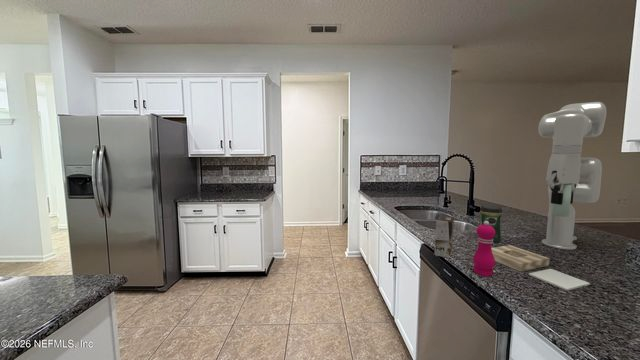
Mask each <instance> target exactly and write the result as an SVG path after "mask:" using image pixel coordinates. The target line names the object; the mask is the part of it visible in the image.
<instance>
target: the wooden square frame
mask: <svg viewBox="0 0 640 360" xmlns="http://www.w3.org/2000/svg"><path fill="white" fill-rule="evenodd" d="M491 250H492V253H493V256H494V258H495V263H496V262H497V263H499V264H501V265H504V266H505V267H506V266H507V267H509V268H511V269H513V270H516V271H519V272H524V271H529V270H533V269H534V270H535V269H538V268H543V267H548V266H550V257H547V256H543V255H542V254H541V255H540V254H537V253H535V252H531V251H528V250H525V249H523V248H519V247H517V246H514V245H512V244H511V245H510V244H509V245H502V246H496V247H491Z"/></svg>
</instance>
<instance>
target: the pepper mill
mask: <svg viewBox="0 0 640 360" xmlns="http://www.w3.org/2000/svg"><path fill="white" fill-rule="evenodd" d="M476 234H477V242H478V245H477V248H476V251H475V253H474V254H473V257H472V262H473V264H474V266H473V271H474V273H475V274H477V275H479V276H484V277H492V276H493V275H494V269H493V268H495V266H496V261H495V258H494V256H493V253H492V250H491V248H492V245H493V243H494V242H493V237H494V236H495V229H494V228H493V227H492V226H490V225H489V222H488V221H484V225H481V224H480V225H478V226H477V227H476Z"/></svg>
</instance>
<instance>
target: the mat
mask: <svg viewBox="0 0 640 360" xmlns="http://www.w3.org/2000/svg"><path fill="white" fill-rule="evenodd" d="M528 276H530V277H532V278H535V279H538V280H540V281H542V282H544V283H547V284H549V285H552V286H554V287H557V288H559V289H562V290H564V291H566V292H567V291H572V290H575V289H580V288H583V286H584V287H587V286H591V282H588V281H585V280H582V279H579V278H578V277H574V276H571V275H570V274H566V273H563V272H560V271H559V270H556V269H553V268H547V269H543V270H538V271H533V272H528Z"/></svg>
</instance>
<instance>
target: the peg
mask: <svg viewBox="0 0 640 360" xmlns="http://www.w3.org/2000/svg"><path fill="white" fill-rule="evenodd" d="M559 184H560V183H559ZM558 188H559V186H558ZM571 191H572V184H564V186H563V190H562V193H563V202H562V205H558V204H553V207H552V215H555V216H561V217H569V211H570V201H571Z"/></svg>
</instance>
